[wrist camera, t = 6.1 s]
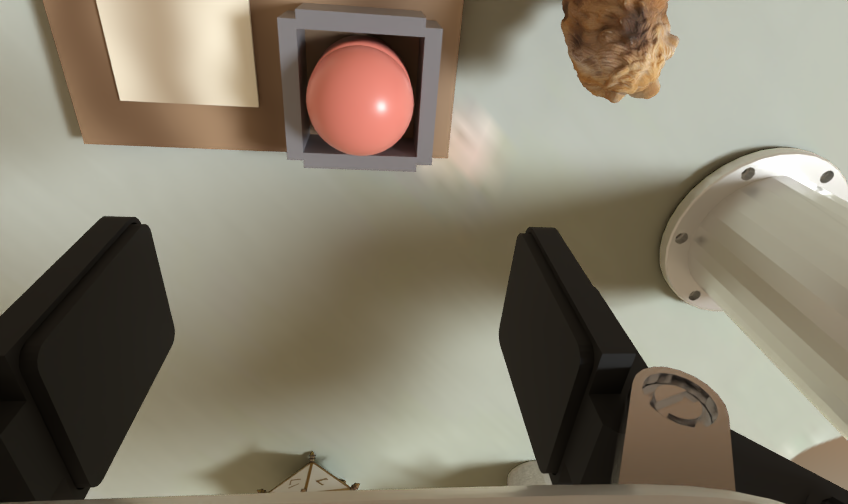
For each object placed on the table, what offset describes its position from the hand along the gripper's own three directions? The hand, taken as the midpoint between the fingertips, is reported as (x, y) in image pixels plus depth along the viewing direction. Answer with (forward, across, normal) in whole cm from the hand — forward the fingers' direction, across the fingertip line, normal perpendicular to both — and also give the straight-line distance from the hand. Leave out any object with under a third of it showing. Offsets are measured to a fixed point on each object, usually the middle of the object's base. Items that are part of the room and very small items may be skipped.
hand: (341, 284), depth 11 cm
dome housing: (+19, 0, 0) cm, 19 cm away
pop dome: (+18, 0, 0) cm, 18 cm away
